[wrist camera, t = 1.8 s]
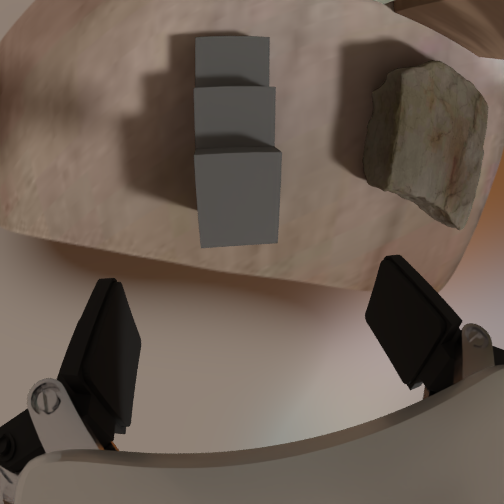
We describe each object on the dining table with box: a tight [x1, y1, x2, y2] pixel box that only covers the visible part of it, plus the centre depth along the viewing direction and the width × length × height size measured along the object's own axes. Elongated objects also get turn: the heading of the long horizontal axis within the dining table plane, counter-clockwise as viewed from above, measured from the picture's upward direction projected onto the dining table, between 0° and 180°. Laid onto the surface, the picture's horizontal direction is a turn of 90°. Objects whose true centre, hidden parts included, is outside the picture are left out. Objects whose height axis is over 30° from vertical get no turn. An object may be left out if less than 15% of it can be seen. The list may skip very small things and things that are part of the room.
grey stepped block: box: [194, 36, 282, 248], centre depth 17 cm, size 14×5×6 cm, turn 0°
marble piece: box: [363, 60, 488, 230], centre depth 20 cm, size 17×15×4 cm
